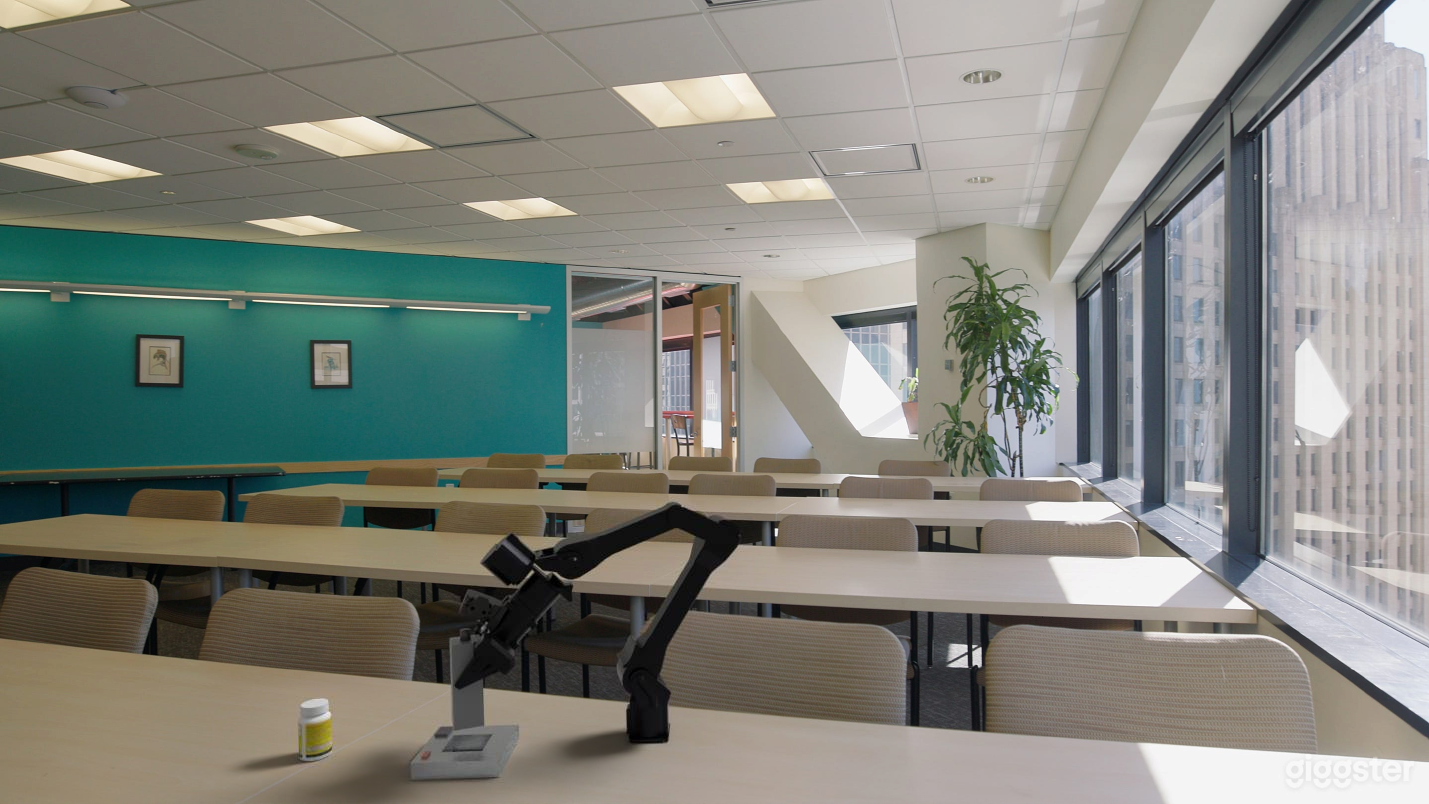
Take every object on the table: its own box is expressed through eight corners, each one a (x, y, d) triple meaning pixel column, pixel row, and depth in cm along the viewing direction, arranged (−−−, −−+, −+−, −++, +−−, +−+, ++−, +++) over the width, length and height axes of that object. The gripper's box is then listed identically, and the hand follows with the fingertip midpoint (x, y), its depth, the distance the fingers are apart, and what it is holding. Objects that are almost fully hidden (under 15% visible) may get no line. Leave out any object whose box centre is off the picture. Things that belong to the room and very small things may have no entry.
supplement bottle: (339, 751, 128) (337, 699, 128) (315, 764, 123) (314, 710, 123) (315, 747, 129) (314, 696, 129) (291, 760, 125) (290, 706, 125)
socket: (519, 739, 130) (518, 722, 130) (499, 777, 117) (498, 757, 117) (439, 742, 130) (439, 724, 130) (410, 779, 117) (410, 760, 117)
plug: (481, 715, 127) (478, 624, 127) (484, 725, 123) (481, 631, 123) (451, 720, 125) (449, 627, 125) (453, 730, 121) (451, 635, 121)
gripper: (490, 560, 134) (423, 632, 131) (488, 584, 116) (410, 668, 113) (539, 603, 136) (474, 674, 133) (545, 632, 118) (470, 716, 115)
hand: (457, 681), depth 124 cm, fingers closed on plug, 5 cm apart
